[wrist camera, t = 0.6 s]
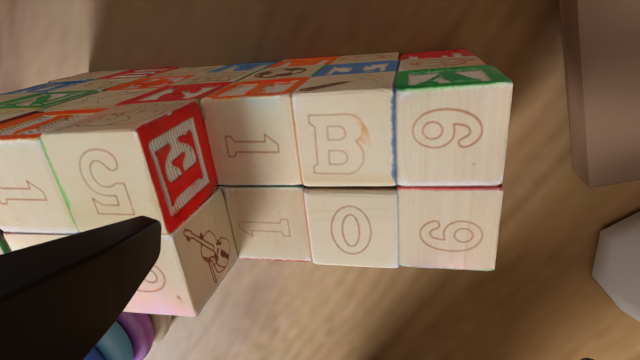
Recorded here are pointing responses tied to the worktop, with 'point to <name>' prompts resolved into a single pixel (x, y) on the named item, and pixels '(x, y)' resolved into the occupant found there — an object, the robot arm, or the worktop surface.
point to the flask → (620, 264)
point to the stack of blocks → (265, 164)
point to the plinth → (603, 88)
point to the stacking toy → (131, 337)
